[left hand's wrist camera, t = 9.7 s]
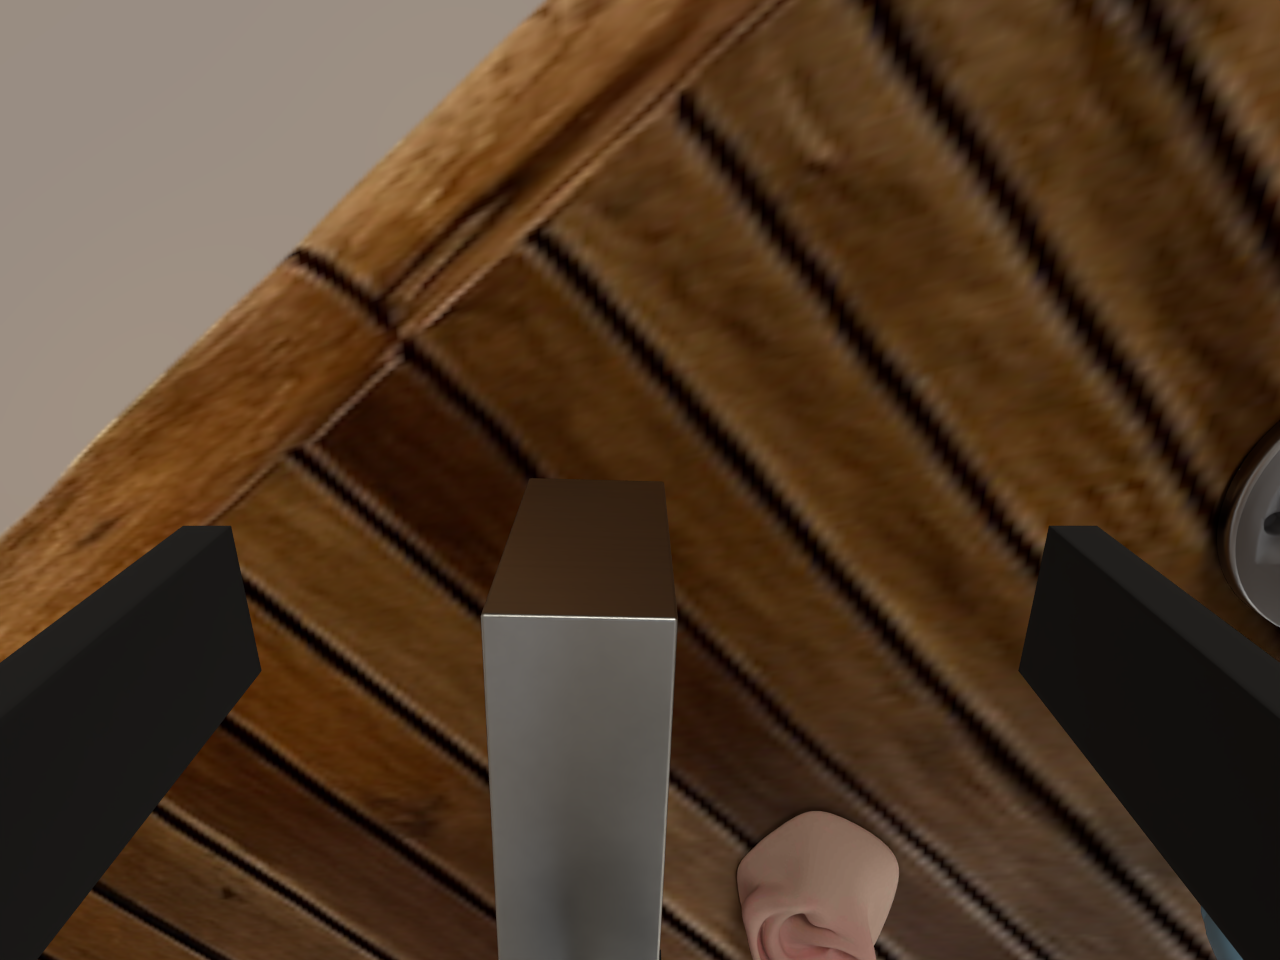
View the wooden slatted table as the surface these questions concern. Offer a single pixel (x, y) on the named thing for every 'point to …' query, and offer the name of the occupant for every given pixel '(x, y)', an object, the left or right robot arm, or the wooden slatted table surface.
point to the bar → (581, 720)
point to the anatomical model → (816, 890)
